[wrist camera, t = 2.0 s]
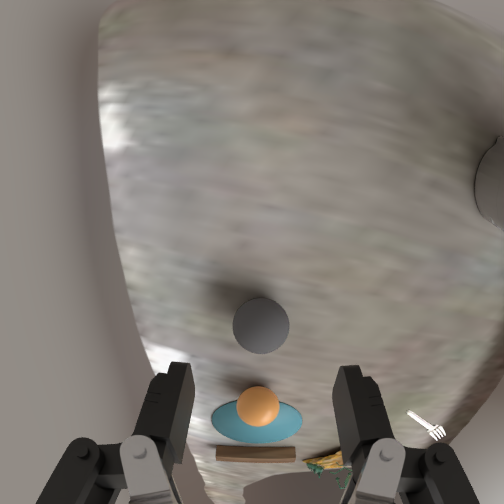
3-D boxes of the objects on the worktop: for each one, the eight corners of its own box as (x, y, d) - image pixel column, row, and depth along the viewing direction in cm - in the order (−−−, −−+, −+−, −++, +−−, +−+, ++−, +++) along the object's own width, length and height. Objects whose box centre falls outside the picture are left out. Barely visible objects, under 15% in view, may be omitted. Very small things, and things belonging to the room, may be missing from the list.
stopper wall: (216, 445, 46) (215, 456, 43) (295, 446, 45) (295, 458, 43) (217, 449, 46) (216, 460, 44) (293, 451, 46) (294, 462, 44)
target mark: (207, 396, 38) (207, 397, 38) (307, 398, 38) (308, 399, 38) (215, 440, 45) (215, 441, 44) (296, 442, 44) (296, 443, 44)
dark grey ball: (242, 281, 30) (238, 315, 25) (294, 294, 30) (300, 329, 25) (229, 322, 32) (224, 358, 27) (277, 333, 33) (279, 369, 28)
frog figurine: (307, 445, 45) (323, 514, 32) (392, 428, 47) (417, 486, 34) (298, 464, 49) (310, 524, 36) (376, 449, 51) (395, 502, 38)
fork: (414, 403, 41) (417, 411, 39) (445, 427, 46) (447, 434, 44) (398, 413, 42) (401, 421, 40) (432, 435, 47) (435, 441, 46)
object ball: (243, 374, 36) (241, 409, 31) (284, 381, 36) (286, 415, 32) (233, 397, 38) (230, 429, 33) (271, 404, 39) (271, 436, 34)
